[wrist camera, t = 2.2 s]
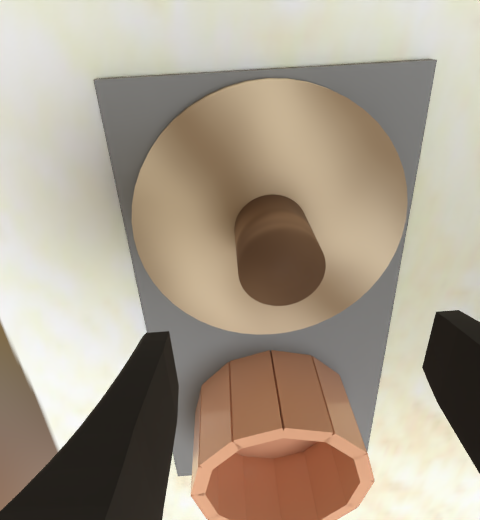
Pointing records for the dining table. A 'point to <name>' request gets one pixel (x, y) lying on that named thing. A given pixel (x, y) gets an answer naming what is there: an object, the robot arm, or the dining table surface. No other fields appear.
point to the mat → (300, 341)
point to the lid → (269, 206)
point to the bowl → (277, 442)
